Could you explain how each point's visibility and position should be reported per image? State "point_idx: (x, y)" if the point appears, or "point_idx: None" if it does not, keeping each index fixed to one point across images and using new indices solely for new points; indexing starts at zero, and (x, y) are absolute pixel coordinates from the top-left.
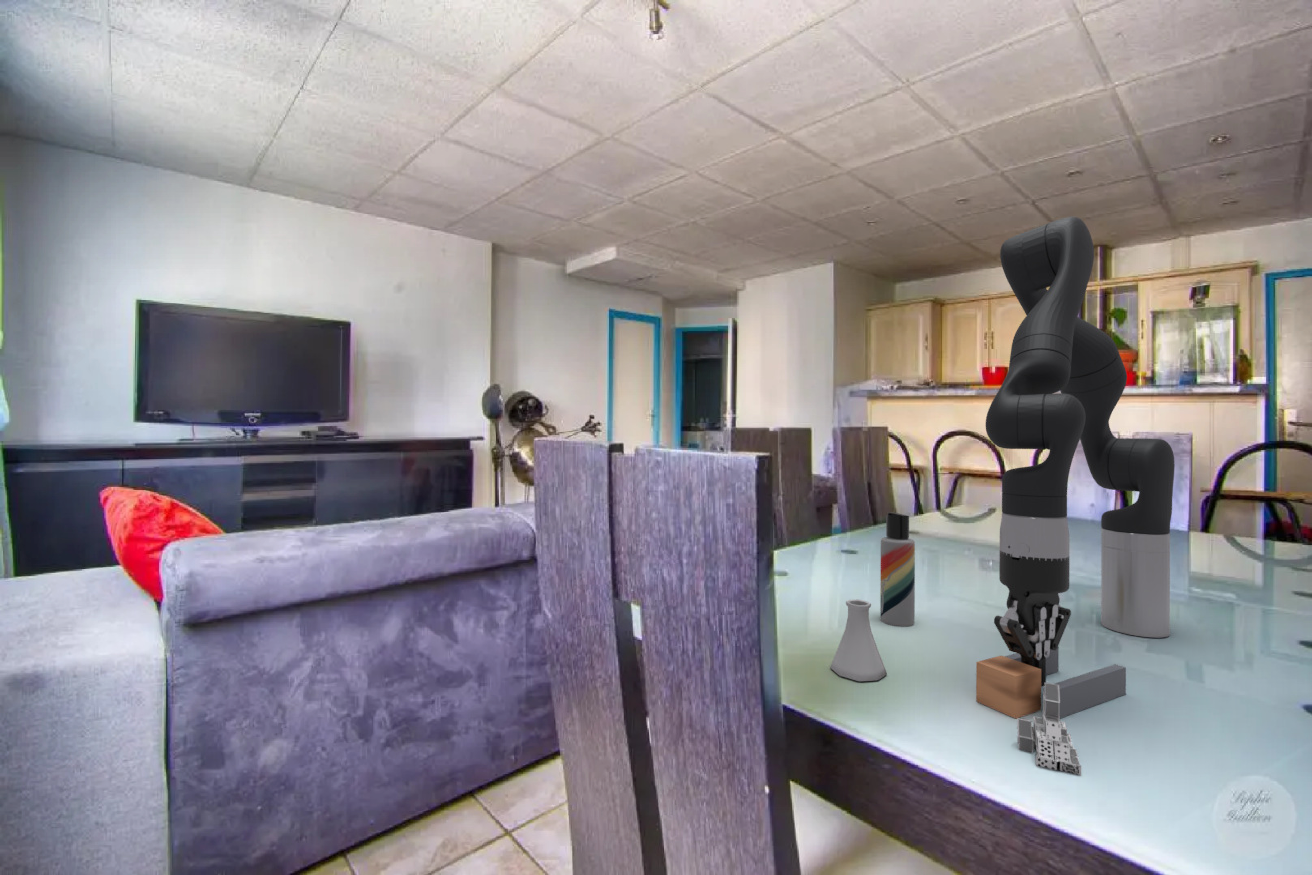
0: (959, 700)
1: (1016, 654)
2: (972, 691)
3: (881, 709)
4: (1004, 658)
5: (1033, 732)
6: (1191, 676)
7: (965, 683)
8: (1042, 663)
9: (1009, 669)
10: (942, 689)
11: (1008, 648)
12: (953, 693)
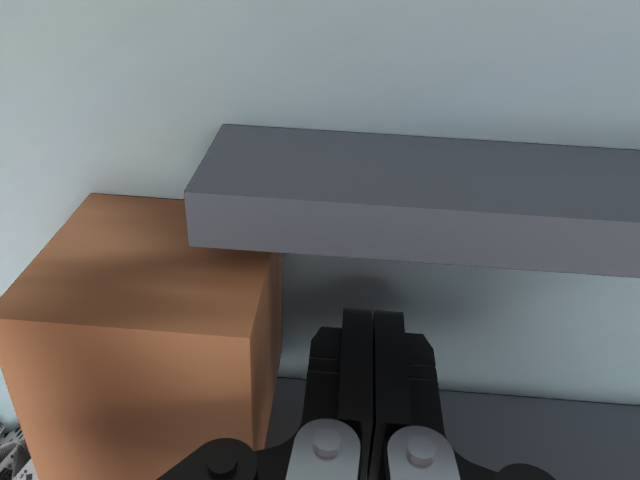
0: (20, 146)
1: (592, 235)
2: (173, 118)
3: None
4: (217, 368)
5: (23, 442)
6: None
7: (232, 33)
8: (367, 470)
9: (85, 442)
10: (29, 16)
11: (186, 457)
12: (52, 82)
